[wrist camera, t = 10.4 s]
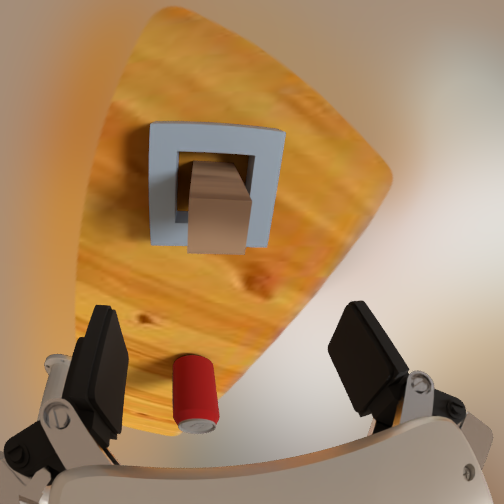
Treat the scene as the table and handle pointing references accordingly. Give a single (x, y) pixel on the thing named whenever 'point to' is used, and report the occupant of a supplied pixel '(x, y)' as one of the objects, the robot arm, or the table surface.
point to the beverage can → (194, 395)
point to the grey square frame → (216, 141)
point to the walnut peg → (217, 209)
